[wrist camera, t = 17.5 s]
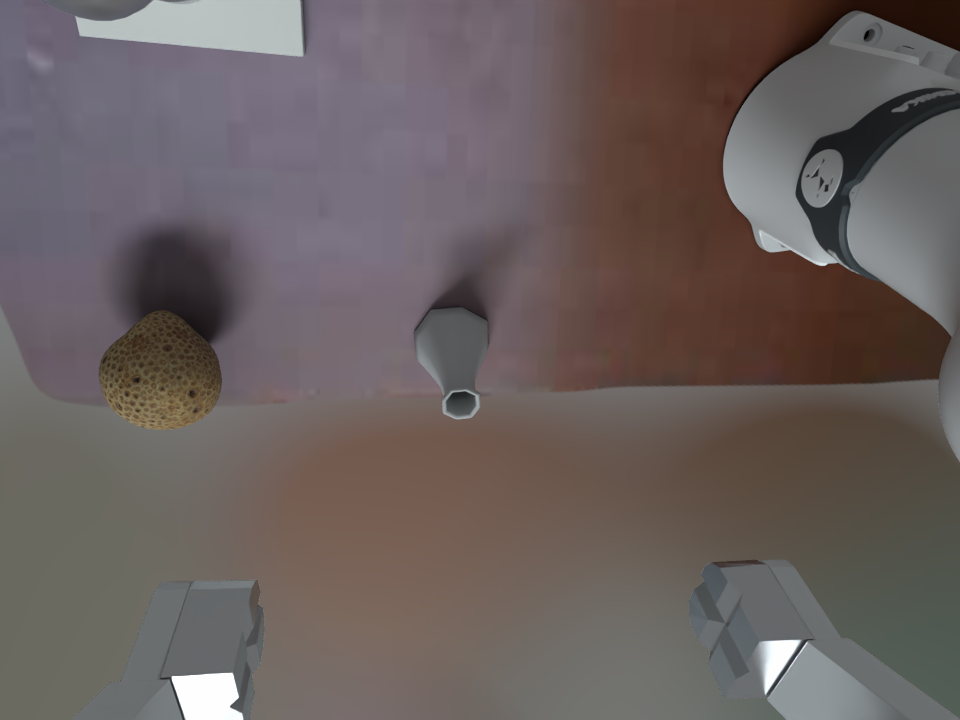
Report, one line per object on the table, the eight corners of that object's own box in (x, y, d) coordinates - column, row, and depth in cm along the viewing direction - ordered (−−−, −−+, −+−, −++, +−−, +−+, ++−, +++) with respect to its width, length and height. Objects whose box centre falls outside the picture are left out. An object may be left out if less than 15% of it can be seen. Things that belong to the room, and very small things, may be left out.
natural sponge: (176, 397, 56) (138, 473, 48) (101, 327, 51) (45, 398, 43) (255, 355, 55) (231, 426, 47) (186, 279, 50) (145, 343, 42)
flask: (422, 297, 54) (428, 360, 45) (499, 313, 55) (517, 375, 47) (405, 363, 57) (406, 431, 49) (477, 375, 59) (490, 444, 51)
